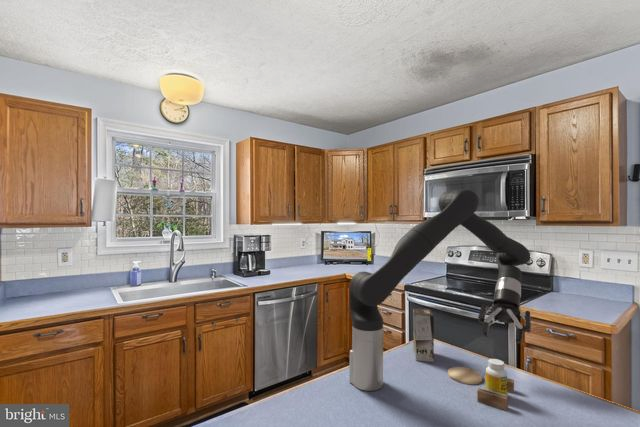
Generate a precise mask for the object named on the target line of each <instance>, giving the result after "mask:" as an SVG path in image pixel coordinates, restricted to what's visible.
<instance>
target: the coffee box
mask: <svg viewBox="0 0 640 427" xmlns="http://www.w3.org/2000/svg"><path fill="white" fill-rule="evenodd" d="M412 312H413V314H412V315H413V317H412V318H413V354H414V358H415V361H418V362H419V361H420V362H427V363H428V362H431V363H434V358H435V356H434V354H435V353H434V352H435V351H434V350H435V348H434V346H435V344H434V341H435V340H434V335H435V332H434V330H435V328H434V327H435V326H434V325H435V323H434V322H435V315H434V314H433V312H432V309H430V308H429V309H428V308H413V311H412Z"/></svg>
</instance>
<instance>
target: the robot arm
mask: <svg viewBox="0 0 640 427" xmlns="http://www.w3.org/2000/svg"><path fill="white" fill-rule="evenodd" d="M438 207H439V209H440V212H438V213H437V214H436V215H434V216H431V217H429V218H427V219H425V220H424V221H421V222H420V223H417V224H416V225H415V226H413V227H412V228H410V230H408V231H407V232H406V233H405V234H404V235H403V236H402V237H401V238H400V239H399V240H398V242H397V243H396V245H395V247H394V249H393V251H392V253H391V255H390V256H389V258H388V260H387V261H386V262H385V263H384V264H383V265H382V266H381V267H379V269H377V270H376V271H375V272H373V273H371V272H369V271H358V272H357V273H356V274H354V275H353V277H351V279H350V282H349V295H348V296H349V313H350V317H351V323H352V324H351V325H352V326H351V328H352V331H351V332H352V333H351V334H352V337H351V338H352V339H351V340H352V341H351V343H352V345H351V347H352V348H351V349H350V350H349V365H348V366H349V372H348V373H349V374H348V376H349V380H348V381H349V383H351V384H352V385H353V386H354V387H355V388H357V389H358V390H362V391H366V392H367V391H369V392H371V391H372V392H373V391H378V390H380V389H381V388H383V386H384V319H383V316H382V314H381V312H380V311H379V307H378V306H379V305H381V304H382V303H383V302H384V301H386V300H387V299H388V297H389V296H390V294H392V293H393V291H395V288H397V287H398V285H399V284H400V283H401V282H402V280H404V278H406V276H407V275H408V274H409V273H411V271H412V270H413V269H414V268H415V267H416V266H417V265H419V263H420V262H422V261H423V260H424V259H426V257H427V256H428V255H429V254H431V252H433V250H434V249H435V248H436V247H437V246H438V245H439V244H440V243H441V242H442V241H444V240H445V238H447V237H448V235H450V234H451V233H452V232H453V231H454V230H455V229H457V227H458V226H462V227H464V228H465V229H466V230H468V231H469V233H471V234H473V235H474V236H475V237H476V238H477V239H479V240H480V241H481V242H482V243H483V244H484V245H485V246H486V247H487V248H489V249H490V250H491V251H492V252H493V253H496V254H495V258H496V263H497V270H498V274H497V281H496V284H495V289H494V296H493V301H492V305H491V306H487V305H486V304H484V303H482V304H481V305H480V310H479V312H478V318H477V319H478V322H479V324H480V325H482V334H483V335H484V337H486V338H488V337H489V332H490V326H491V325H492V324H495V323H497V322H498V323H506V324H508V325H509V324H512V325H513V326H514V327H515V328H516V336H515V341H516V342H515V343H516V344H520V343H522V342H523V337H524V336H523V335H524V333H531V330H532V329H531V327H532V326H531V323H532V322H531V321H532V320H531V319H532V318H531V316H532V315H531V312H530V311H529V310H526V311H520V306H521V305H520V304H521V297H522V280H523V279H522V278H523V273H522V272H523V271H522V270H521V269H520V268H519V267H518V266H522V265H526V264H528V263H529V261H530V260H531V253H530V251H529V250H528V248H527V247H526V246H525V245H524V244H522V243H521V242H518V241H516V240H514V239H512V238H510V237H509V236H507V235H506V233H504V232H503V231H502V230H501V229H500V228H499V227H498V226H496V225H495V224H494V223H492V222H490V221H488V220H487V219H484V218H482V217H480V216H479V215H477V214H476V213H475V212H476V211H477V209H478V207H479V196H478V194H477V193H476V192H475V191H473V190H471V189H462V188H461V189H450V190H447V191H446V190H445V191H444V192H442V194H440V196H439V198H438ZM489 312H491V313H490V314H489V315H488V317H486V314H488V313H489ZM520 317H522V319H523V320H524V321H525V322H524V325H522V323H521V322H520V321H519V318H520Z"/></svg>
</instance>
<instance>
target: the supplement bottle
mask: <svg viewBox="0 0 640 427" xmlns="http://www.w3.org/2000/svg"><path fill="white" fill-rule="evenodd" d="M487 365H488V366H487V367H486V368H485V389H487V390H491V391H494V392H497V393H501V394H504V395H507V396H508V392H507V378H508V373H507V370H505V362H504V361H503V360H500V359H498V358H489V359H488V360H487Z"/></svg>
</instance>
